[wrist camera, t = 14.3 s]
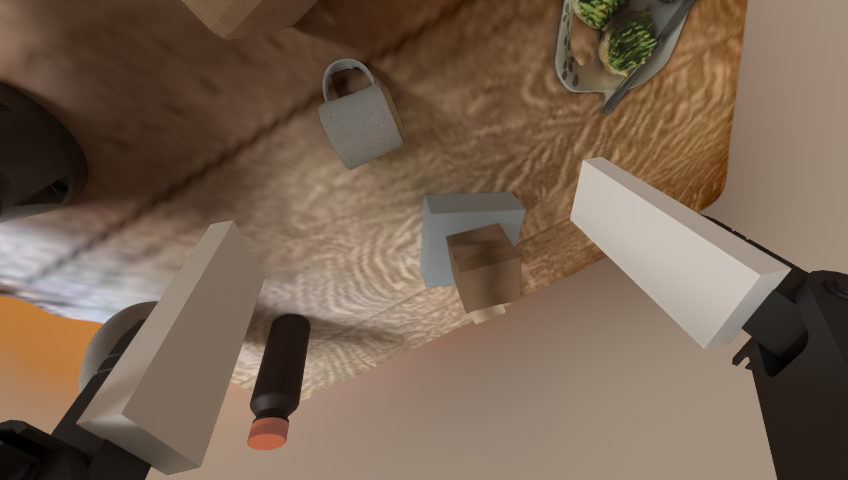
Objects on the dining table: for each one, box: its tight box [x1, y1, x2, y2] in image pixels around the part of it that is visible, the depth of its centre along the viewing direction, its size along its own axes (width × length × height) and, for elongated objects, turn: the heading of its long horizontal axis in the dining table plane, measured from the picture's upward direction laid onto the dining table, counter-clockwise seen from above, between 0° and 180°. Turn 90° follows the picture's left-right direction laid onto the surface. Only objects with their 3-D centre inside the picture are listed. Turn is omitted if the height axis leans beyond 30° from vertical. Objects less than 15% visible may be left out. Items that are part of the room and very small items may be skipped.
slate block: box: [420, 192, 526, 287], centre depth 50 cm, size 14×14×6 cm
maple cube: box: [470, 304, 506, 324], centre depth 59 cm, size 6×6×6 cm
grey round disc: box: [79, 301, 159, 393], centre depth 45 cm, size 18×7×19 cm, turn 23°
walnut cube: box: [446, 223, 521, 313], centre depth 45 cm, size 8×8×8 cm
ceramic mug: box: [318, 58, 407, 170], centre depth 35 cm, size 11×8×8 cm
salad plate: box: [554, 0, 695, 115], centre depth 37 cm, size 19×18×5 cm
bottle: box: [247, 314, 310, 450], centre depth 51 cm, size 7×7×20 cm
